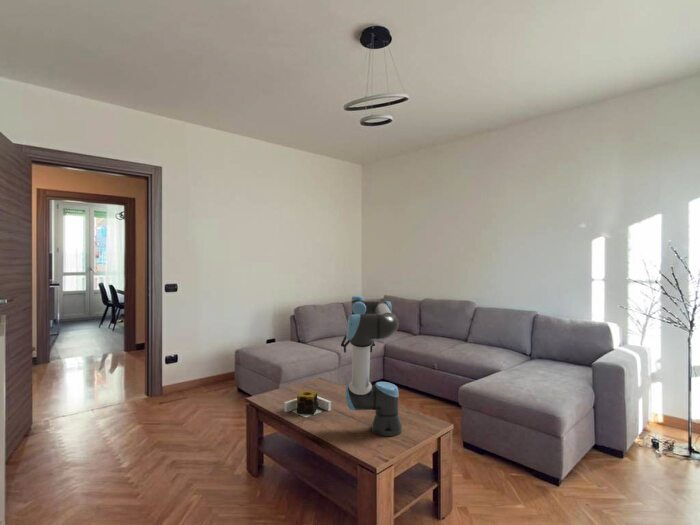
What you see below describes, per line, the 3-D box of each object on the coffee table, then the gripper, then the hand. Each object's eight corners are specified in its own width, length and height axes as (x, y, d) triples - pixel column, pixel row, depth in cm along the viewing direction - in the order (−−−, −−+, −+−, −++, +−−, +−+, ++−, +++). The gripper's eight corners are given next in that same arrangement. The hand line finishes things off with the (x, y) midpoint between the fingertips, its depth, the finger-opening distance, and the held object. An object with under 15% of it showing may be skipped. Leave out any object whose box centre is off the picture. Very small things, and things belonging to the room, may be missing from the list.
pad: (322, 411, 218) (322, 411, 218) (305, 417, 209) (305, 417, 209) (308, 405, 226) (308, 405, 226) (292, 411, 218) (292, 411, 218)
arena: (331, 410, 220) (331, 401, 220) (303, 420, 206) (303, 411, 206) (311, 401, 233) (311, 393, 233) (284, 411, 219) (284, 402, 219)
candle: (313, 415, 212) (313, 397, 212) (296, 414, 214) (296, 396, 214) (318, 408, 222) (318, 391, 222) (301, 407, 224) (301, 390, 224)
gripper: (378, 321, 231) (378, 356, 231) (336, 321, 230) (336, 356, 230) (379, 323, 223) (379, 359, 223) (336, 323, 222) (336, 359, 222)
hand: (357, 358), depth 226 cm, fingers open, 13 cm apart
